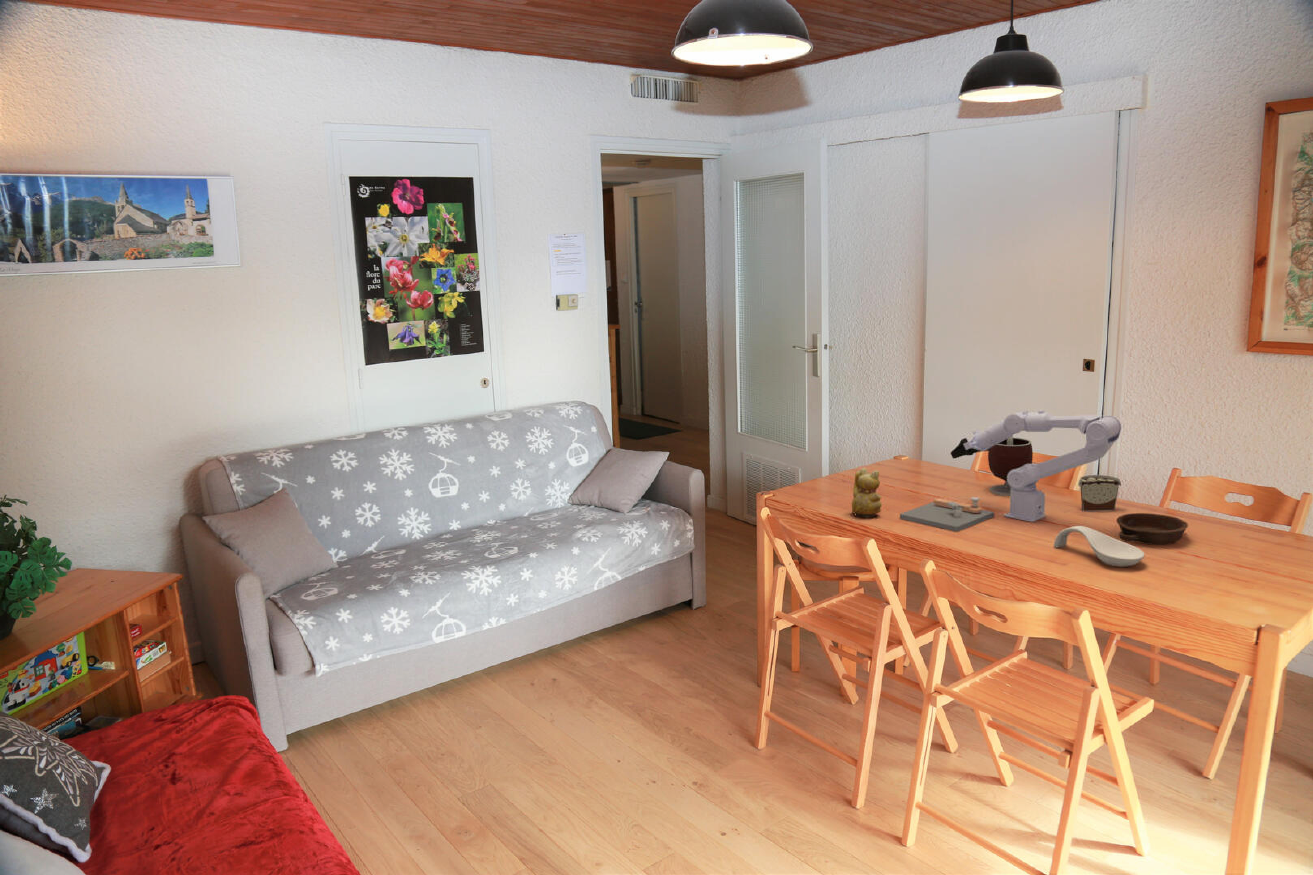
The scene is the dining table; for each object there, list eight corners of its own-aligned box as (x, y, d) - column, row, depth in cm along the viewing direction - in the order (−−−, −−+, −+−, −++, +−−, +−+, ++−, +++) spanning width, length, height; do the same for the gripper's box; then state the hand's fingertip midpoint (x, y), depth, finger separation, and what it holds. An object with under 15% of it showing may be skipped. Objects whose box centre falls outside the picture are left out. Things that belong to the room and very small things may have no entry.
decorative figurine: (885, 514, 294) (885, 468, 291) (873, 521, 288) (873, 473, 285) (857, 510, 301) (857, 464, 298) (845, 516, 294) (845, 470, 291)
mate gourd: (1032, 497, 305) (1034, 437, 301) (987, 495, 310) (989, 436, 305) (1029, 485, 320) (1031, 428, 316) (986, 484, 324) (988, 427, 320)
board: (993, 516, 287) (993, 512, 286) (957, 531, 274) (957, 526, 274) (936, 505, 302) (937, 500, 302) (899, 518, 289) (899, 514, 289)
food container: (1112, 505, 293) (1113, 474, 291) (1119, 510, 287) (1121, 479, 285) (1071, 505, 294) (1072, 475, 292) (1077, 511, 288) (1079, 479, 286)
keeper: (953, 512, 288) (953, 501, 287) (961, 517, 283) (961, 505, 282) (947, 513, 288) (947, 502, 287) (955, 517, 283) (955, 506, 282)
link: (983, 511, 287) (983, 497, 286) (977, 513, 284) (977, 500, 284) (939, 502, 298) (940, 489, 297) (933, 504, 296) (933, 491, 295)
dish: (1095, 535, 266) (1096, 519, 265) (1153, 524, 273) (1154, 508, 272) (1147, 553, 250) (1148, 535, 249) (1207, 540, 257) (1208, 523, 256)
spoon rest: (1153, 565, 241) (1154, 538, 240) (1125, 575, 235) (1127, 548, 234) (1071, 542, 261) (1072, 518, 260) (1044, 551, 255) (1045, 526, 254)
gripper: (999, 421, 294) (965, 440, 304) (974, 426, 285) (940, 445, 294) (1009, 441, 292) (975, 459, 302) (985, 447, 283) (950, 465, 293)
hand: (958, 454), depth 298 cm, fingers open, 7 cm apart
